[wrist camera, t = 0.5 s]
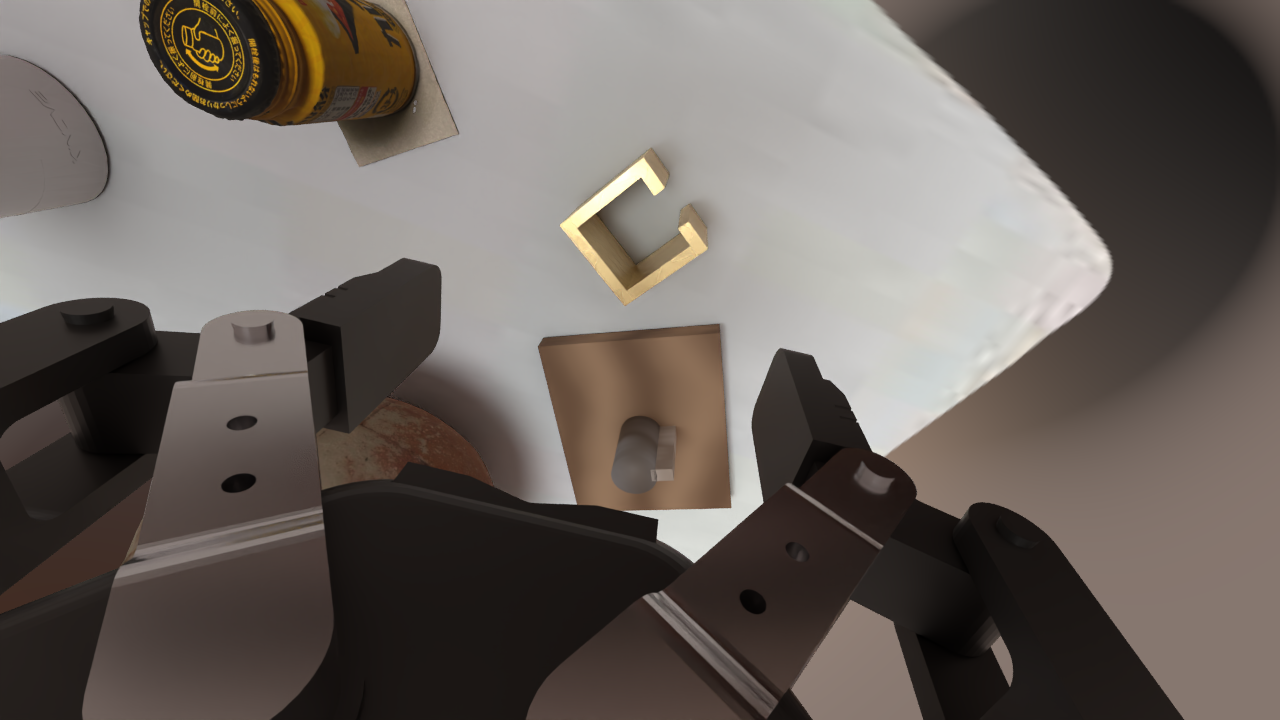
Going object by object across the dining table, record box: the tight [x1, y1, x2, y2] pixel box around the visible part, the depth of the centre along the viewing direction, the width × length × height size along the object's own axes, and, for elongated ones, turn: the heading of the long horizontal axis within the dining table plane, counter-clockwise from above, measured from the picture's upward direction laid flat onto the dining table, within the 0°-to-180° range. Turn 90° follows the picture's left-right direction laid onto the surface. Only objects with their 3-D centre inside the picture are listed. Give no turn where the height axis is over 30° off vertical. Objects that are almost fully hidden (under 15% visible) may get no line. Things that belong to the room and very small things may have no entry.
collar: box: [560, 148, 708, 306], centre depth 31 cm, size 6×6×5 cm
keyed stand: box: [538, 324, 731, 511], centre depth 38 cm, size 13×16×6 cm
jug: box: [119, 397, 494, 568], centre depth 32 cm, size 22×22×30 cm
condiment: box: [139, 0, 458, 167], centre depth 26 cm, size 7×8×12 cm
